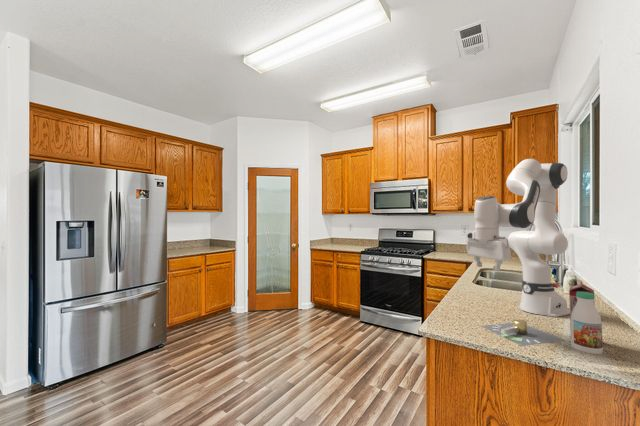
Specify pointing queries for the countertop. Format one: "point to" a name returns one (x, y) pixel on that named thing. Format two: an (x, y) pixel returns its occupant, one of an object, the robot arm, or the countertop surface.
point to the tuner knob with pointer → (516, 327)
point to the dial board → (524, 335)
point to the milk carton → (573, 296)
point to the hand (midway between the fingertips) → (487, 268)
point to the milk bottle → (586, 325)
